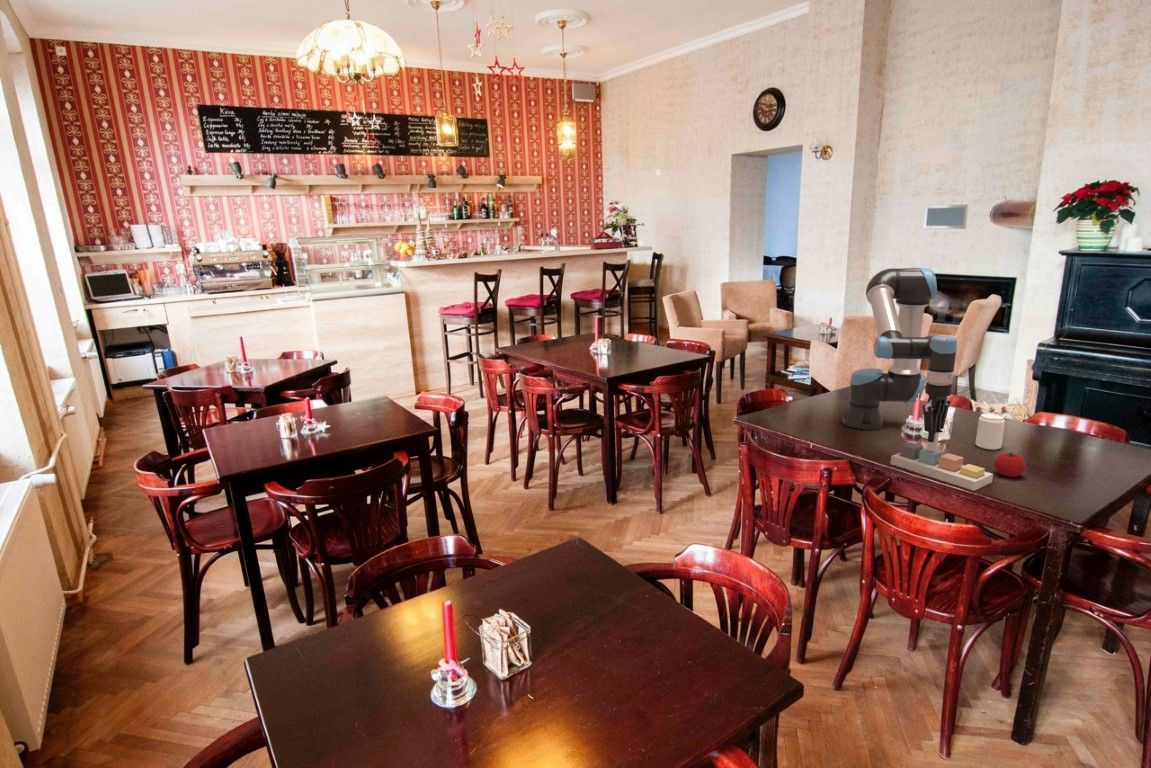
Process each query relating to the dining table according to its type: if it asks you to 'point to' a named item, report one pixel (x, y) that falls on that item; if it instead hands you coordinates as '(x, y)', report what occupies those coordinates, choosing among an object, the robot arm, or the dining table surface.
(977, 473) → the key
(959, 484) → the keypad
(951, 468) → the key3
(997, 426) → the beverage can
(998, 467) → the tomato
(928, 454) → the key
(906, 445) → the key
